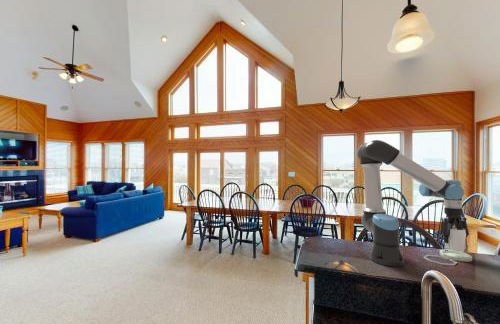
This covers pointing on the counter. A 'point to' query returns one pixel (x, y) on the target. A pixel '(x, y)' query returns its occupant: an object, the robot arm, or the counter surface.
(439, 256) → the seat ring
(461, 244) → the cup
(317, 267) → the counter surface
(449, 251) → the pale green flat disc
